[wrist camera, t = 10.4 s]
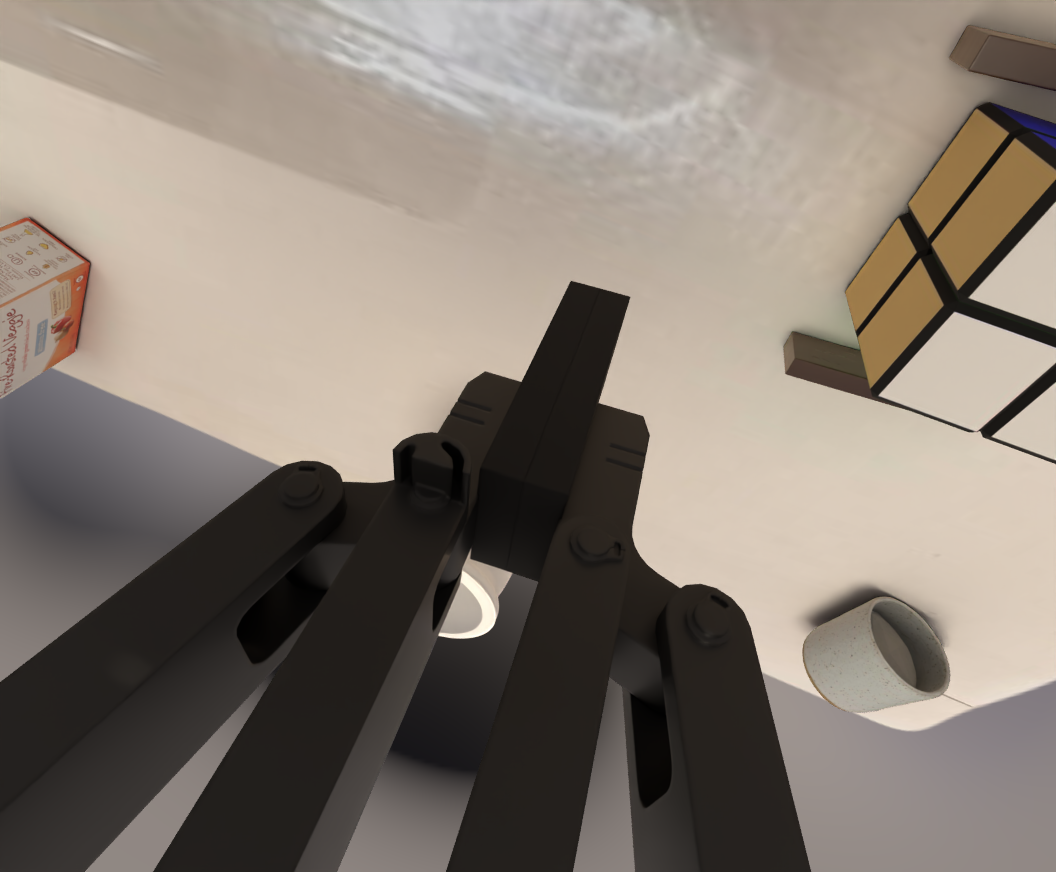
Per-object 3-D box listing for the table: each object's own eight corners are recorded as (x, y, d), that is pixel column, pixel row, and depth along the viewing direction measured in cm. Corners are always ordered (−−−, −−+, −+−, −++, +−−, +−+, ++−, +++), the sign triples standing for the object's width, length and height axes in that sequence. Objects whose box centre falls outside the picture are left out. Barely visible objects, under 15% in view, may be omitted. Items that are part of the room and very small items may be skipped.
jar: (480, 378, 43) (391, 524, 33) (579, 457, 46) (526, 617, 35) (419, 442, 50) (329, 579, 40) (507, 507, 53) (445, 653, 42)
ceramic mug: (792, 618, 51) (798, 701, 46) (861, 580, 45) (877, 669, 40) (891, 666, 52) (908, 754, 46) (971, 634, 46) (1002, 730, 41)
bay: (967, 25, 23) (989, 34, 21) (1317, 101, 22) (1379, 119, 20) (782, 347, 34) (785, 374, 32) (1004, 411, 33) (1021, 444, 31)
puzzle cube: (1209, 172, 24) (1402, 275, 17) (1014, 355, 31) (1093, 482, 24) (980, 97, 24) (1073, 165, 17) (840, 293, 31) (865, 399, 24)
